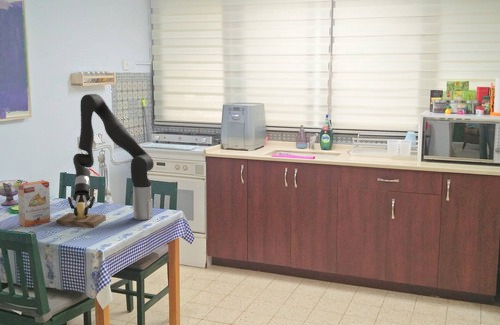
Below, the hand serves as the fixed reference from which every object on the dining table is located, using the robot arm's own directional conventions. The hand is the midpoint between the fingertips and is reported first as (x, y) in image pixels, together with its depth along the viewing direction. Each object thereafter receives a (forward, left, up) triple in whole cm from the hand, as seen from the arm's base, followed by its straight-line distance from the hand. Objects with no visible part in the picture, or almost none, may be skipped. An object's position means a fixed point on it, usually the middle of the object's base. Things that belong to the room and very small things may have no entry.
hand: (80, 215), depth 277 cm
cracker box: (+22, +5, -5) cm, 23 cm away
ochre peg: (+1, -2, -4) cm, 5 cm away
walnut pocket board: (+1, -2, -4) cm, 5 cm away
